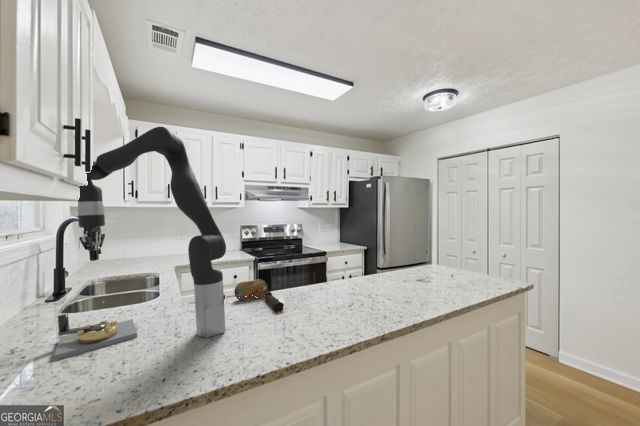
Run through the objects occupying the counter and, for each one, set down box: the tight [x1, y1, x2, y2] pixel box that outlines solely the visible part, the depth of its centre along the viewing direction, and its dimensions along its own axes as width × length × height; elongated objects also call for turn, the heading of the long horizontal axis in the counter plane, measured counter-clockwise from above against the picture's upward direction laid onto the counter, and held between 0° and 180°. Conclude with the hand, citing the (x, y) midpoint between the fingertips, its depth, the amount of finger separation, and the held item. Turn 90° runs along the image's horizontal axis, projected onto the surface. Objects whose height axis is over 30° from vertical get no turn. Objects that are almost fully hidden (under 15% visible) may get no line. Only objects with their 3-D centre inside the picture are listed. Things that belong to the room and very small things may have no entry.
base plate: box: [53, 319, 138, 361], centre depth 91 cm, size 16×20×2 cm
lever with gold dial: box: [57, 313, 118, 344], centre depth 88 cm, size 15×10×8 cm, turn 107°
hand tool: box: [264, 290, 285, 313], centre depth 116 cm, size 19×4×5 cm, turn 25°
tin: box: [233, 278, 269, 302], centre depth 126 cm, size 15×3×8 cm, turn 114°
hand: (94, 260), depth 101 cm, fingers closed
